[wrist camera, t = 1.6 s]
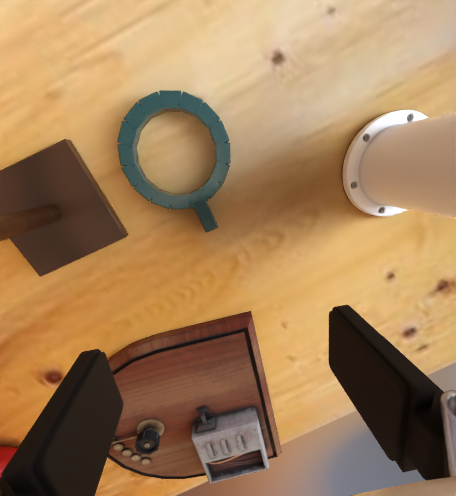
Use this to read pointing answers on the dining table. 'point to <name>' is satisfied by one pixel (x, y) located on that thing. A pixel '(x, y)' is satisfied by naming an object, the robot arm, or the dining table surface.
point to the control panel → (195, 403)
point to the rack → (55, 209)
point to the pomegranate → (6, 457)
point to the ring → (129, 157)
